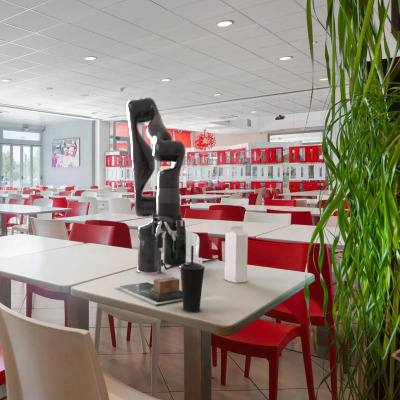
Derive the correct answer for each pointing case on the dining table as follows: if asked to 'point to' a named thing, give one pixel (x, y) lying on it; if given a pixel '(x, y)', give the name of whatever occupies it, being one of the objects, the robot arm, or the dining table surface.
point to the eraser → (166, 289)
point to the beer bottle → (169, 255)
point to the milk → (236, 255)
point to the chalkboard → (147, 292)
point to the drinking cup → (191, 284)
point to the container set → (196, 260)
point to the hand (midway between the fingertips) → (167, 249)
